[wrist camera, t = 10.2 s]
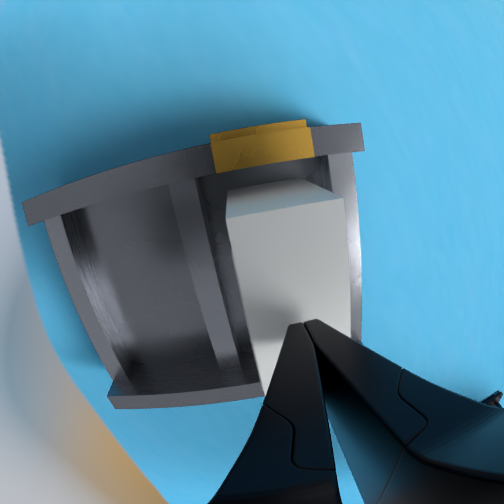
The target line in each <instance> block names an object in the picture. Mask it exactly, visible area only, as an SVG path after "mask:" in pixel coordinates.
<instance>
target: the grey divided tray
mask: <svg viewBox="0 0 504 504" xmlns="http://www.w3.org/2000/svg"><path fill="white" fill-rule="evenodd" d="M210 140H211V143H209V144H205V145H200V146H195V147H191V148H187V149H182V150H178V151H174V152H170V153H166V154H162V155H158V156H155V157H151V158H147V159H144V160H140V161H137V162H133V163H130V164H126V165H123V166H120V167H117V168H113V169H110V170H107V171H104V172H101V173H98V174H95V175H92V176H89V177H86V178H83V179H80V180H77V181H75V182H72V183H69V184H66V185H64V186H61V187H59V188H56V189H53V190H51V191H48V192H46V193H43V194H41V195H38V196H36V197H34V198H31V199H29V200H26V201H24V202H22V205H23V208H24V212H25V216H26V219H27V223H28V226H30V225H33V224H35V223H38V222H41V221H44V222H45V226H46V229H47V233H48V236H49V239H50V242H51V245H52V248H53V251H54V254H55V257H56V260H57V263H58V265H59V268H60V271H61V273H62V276H63V279H64V281H65V284H66V286H67V289H68V291H69V294H70V296H71V298H72V301H73V303H74V305H75V308H76V310H77V312H78V314H79V317H80V319H81V321H82V323H83V325H84V327H85V329H86V331H87V334H88V336H89V338H90V340H91V342H92V344H93V345H94V347H95V349H96V351H97V353H98V355H99V357H100V359H101V361H102V362H103V364H104V366H105V368H106V370H107V371H108V373H109V375H110V377H111V378H112V380H113V382H112V385H111V387H110V390H109V392H108V395H107V397H108V399H109V400H110V402H111V403H112V405H113V406H114V408H115V409H145V408H167V407H182V406H194V405H204V404H213V403H221V402H229V401H236V400H243V399H249V398H256V397H262V396H265V394H264V391H262V387H261V383H260V379H259V374H258V370H257V366H256V362H255V358H254V353H253V349H252V345H251V340H250V336H249V332H248V327H247V323H246V319H245V314H244V310H243V305H242V301H241V297H240V292H239V288H238V283H237V279H236V274H235V269H234V265H233V260H232V251H231V248H232V247H231V243H230V238H229V233H228V228H227V224H226V204H227V190H232V189H237V188H242V187H248V186H253V185H259V184H264V183H270V182H276V181H282V180H288V179H294V178H302V179H304V180H306V181H309V182H311V183H313V184H315V185H317V186H319V187H322V188H324V189H326V190H328V191H330V192H332V193H334V194H336V195H338V196H340V197H343V198H344V207H345V218H346V230H347V237H348V252H349V271H350V302H351V338H352V339H353V340H355V341H357V342H359V343H360V344H362V342H361V321H362V279H361V248H360V230H359V215H358V203H357V192H356V182H355V173H354V165H353V157H352V152H358V151H365V149H364V142H363V135H362V128H361V123H351V124H338V125H327V126H317V127H307V124H306V119H303V120H294V121H286V122H279V123H272V124H265V125H258V126H252V127H246V128H241V129H235V130H230V131H224V132H219V133H214V134H210ZM362 345H363V344H362Z"/></svg>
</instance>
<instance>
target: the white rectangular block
mask: <svg viewBox="0 0 504 504" xmlns="http://www.w3.org/2000/svg"><path fill="white" fill-rule="evenodd" d="M226 224H227V228H228V233H229V238H230V243H231V247H232V248H231V251H232V260H233V265H234V269H235V274H236V279H237V283H238V288H239V292H240V297H241V301H242V305H243V310H244V314H245V319H246V323H247V327H248V332H249V336H250V340H251V345H252V349H253V353H254V358H255V362H256V366H257V370H258V374H259V379H260V383H261V387H262V391H264V394H265V396H266V393H267V390H268V387H269V384H270V381H271V378H272V375H273V372H274V369H275V366H276V363H277V360H278V357H279V353H280V350H281V347H282V344H283V341H284V338H285V334H286V331H287V328H288V326H289V325H290V324H294V323H299V322H302V323H304V322H305V321H308V320H313V319H319V320H321V321H323V322H324V323H326V324H328V325H329V326H331V327H333V328H334V329H336V330H338V331H340V332H341V333H343V334H345V335H346V336H348V337H350V338H351V302H350V271H349V252H348V237H347V230H346V218H345V207H344V198H343V197H340V196H338V195H336V194H334V193H332V192H330V191H328V190H326V189H324V188H322V187H319V186H317V185H315V184H313V183H311V182H309V181H306V180H304V179H302V178H294V179H288V180H282V181H276V182H270V183H264V184H259V185H253V186H248V187H242V188H237V189H232V190H227V204H226Z"/></svg>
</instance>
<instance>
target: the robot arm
mask: <svg viewBox="0 0 504 504" xmlns="http://www.w3.org/2000/svg"><path fill="white" fill-rule="evenodd" d="M502 395H503V393H502V392H499V393H497V394H496V395H494V396H493V397H491V398H490V399H488V400H487V401H485V402H483V403H480V402H478V401H475V400H472V399H470V398H467V397H465V396H462V395H459V394H457V393H454V392H452V391H449V390H447V389H445V388H442V387H440V386H438V385H435V384H433V383H431V382H429V381H427V380H425V379H423V378H421V377H419V376H417V375H415V374H413V373H412V372H410V371H408V370H406V369H404V368H403V369H402V367H401V366H399V365H397V364H395V363H394V362H392V361H390V360H388V359H386V358H385V357H383V356H381V355H379V354H378V353H376V352H374V351H372V350H371V349H369V348H367V347H365V346H364V345H362V344H360V343H359V342H357V341H355V340H353V339H352V338H350V337H348V336H346V335H345V334H343V333H341V332H340V331H338V330H336V329H334V328H333V327H331V326H329V325H328V324H326V323H324V322H323V321H321V320H319V319H313V320H308V321H305V322H304V323H302V322H299V323H294V324H290V325H289V326H288V328H287V331H286V334H285V338H284V341H283V344H282V347H281V350H280V353H279V357H278V360H277V363H276V366H275V369H274V372H273V375H272V378H271V381H270V384H269V387H268V390H267V393H266V396H265V399H264V402H263V406H262V407H261V410H260V413H259V415H258V418H257V421H256V423H255V425H254V428H253V430H252V433H251V435H250V437H249V439H248V440H247V442H246V444H245V446H244V448H243V450H242V452H241V453H240V455H239V457H238V458H237V460H236V462H235V464H234V465H233V467H232V468H231V470H230V472H229V473H228V475H227V477H226V478H225V480H224V481H223V483H222V485H221V486H220V488H219V489H218V491H217V492H216V494H215V495H214V496H213V498H212V499H211V500H210V501H209V503H208V504H342V501H341V497H340V492H339V487H338V481H337V475H336V467H335V461H334V454H333V447H332V441H331V434H330V428H329V422H328V418H329V421H330V423H331V425H332V428H333V430H334V432H335V435H336V437H337V440H338V442H339V444H340V447H341V449H342V451H343V454H344V456H345V458H346V461H347V463H348V466H349V468H350V470H351V473H352V475H353V477H354V480H355V482H356V484H357V487H358V489H359V492H360V494H361V496H362V499H363V501H364V503H365V504H504V408H502V406H501V405H500V404H499V401H500V399H501V397H502Z"/></svg>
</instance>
